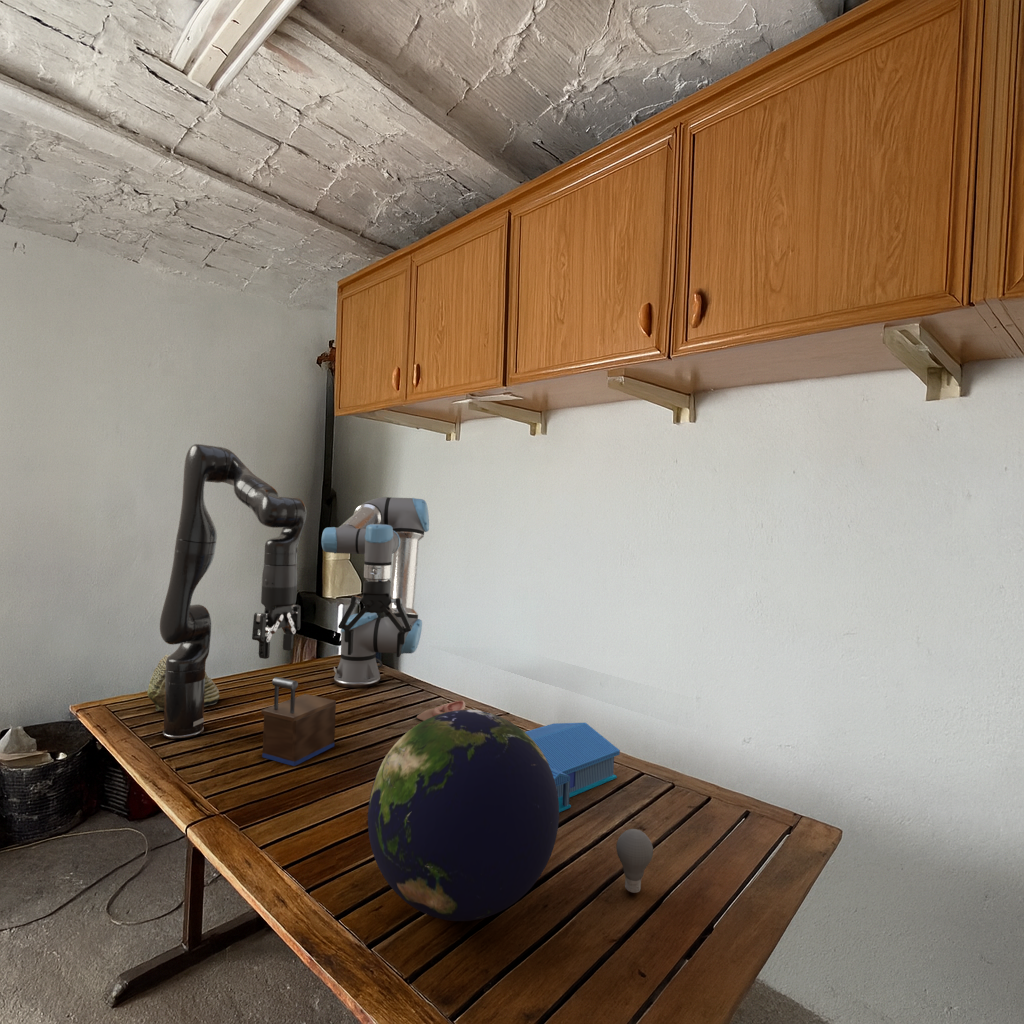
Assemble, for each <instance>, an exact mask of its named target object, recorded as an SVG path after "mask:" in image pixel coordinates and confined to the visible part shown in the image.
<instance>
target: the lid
mask: <svg viewBox="0 0 1024 1024" xmlns="http://www.w3.org/2000/svg"><path fill="white" fill-rule="evenodd" d="M271 684H272V686H273V687H274V695H273V696H274V697H273V705H271V706H268V707H265V708H262V709H261V711H260V713H261V715H263V716H264V715H268V716H272V717H277V718H281V719H285V720H289V721H293V722H294V721H296V720H299V719H301V718H303V717H306V716H308V715H311V714H313V713H316V712H318V711H320V710H323V709H325V708H328V707H330V706H333V705H335V704H336V705H337V700H335V699H331V698H326V697H321V696H317V695H312V694H308V693H304V694H301V695H298V696H296V689H297V688H298V686H299V683H298V681H297V680H293V679H289V678H283V677H280V676H275V677H274V678H272V682H271ZM280 688H282V689H287V690H290V699H288V700H284V701H283V702H280V703H279V695H280V694H279V693H280Z"/></svg>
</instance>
